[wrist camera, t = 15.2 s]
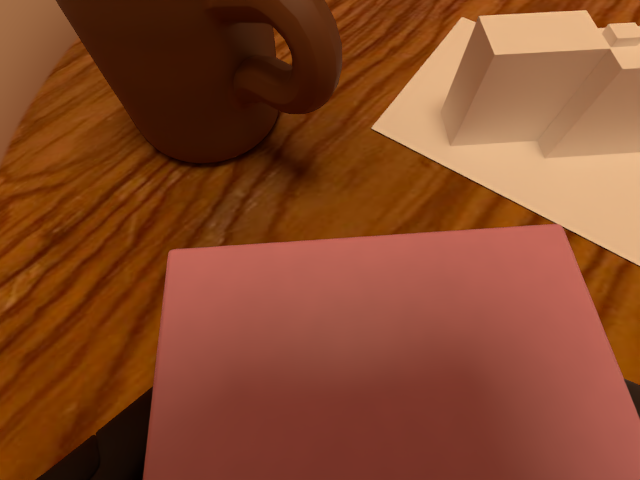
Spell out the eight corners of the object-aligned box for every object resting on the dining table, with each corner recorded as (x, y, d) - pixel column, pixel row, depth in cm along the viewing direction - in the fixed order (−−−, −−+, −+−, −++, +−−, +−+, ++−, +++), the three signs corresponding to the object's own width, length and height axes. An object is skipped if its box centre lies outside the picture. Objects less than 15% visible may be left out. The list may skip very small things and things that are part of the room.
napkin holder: (715, 115, 20) (852, 10, 15) (669, 281, 16) (837, 216, 11) (459, 15, 24) (498, -97, 18) (369, 130, 20) (386, 27, 14)
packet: (430, 467, 12) (717, 597, 3) (266, 481, 12) (119, 656, 3) (409, 345, 14) (563, 220, 5) (265, 356, 14) (166, 247, 5)
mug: (376, 145, 19) (422, -72, 11) (277, 249, 17) (234, 74, 8) (214, 46, 22) (150, -181, 14) (111, 120, 20) (-45, -102, 11)
